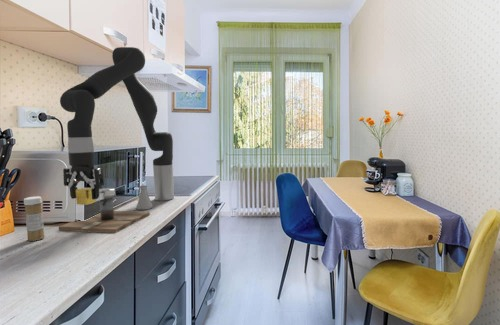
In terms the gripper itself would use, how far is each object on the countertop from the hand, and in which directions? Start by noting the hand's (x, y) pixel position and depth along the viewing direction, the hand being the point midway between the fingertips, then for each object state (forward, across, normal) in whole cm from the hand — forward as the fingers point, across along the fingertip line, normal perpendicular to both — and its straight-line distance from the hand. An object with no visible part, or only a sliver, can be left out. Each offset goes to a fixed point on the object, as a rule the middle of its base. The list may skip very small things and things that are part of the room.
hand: (84, 198), depth 103 cm
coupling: (+2, 0, -6) cm, 6 cm away
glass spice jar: (+10, 0, -10) cm, 14 cm away
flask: (+11, -2, -31) cm, 33 cm away
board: (+11, 0, -10) cm, 15 cm away
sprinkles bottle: (+11, +10, +11) cm, 18 cm away
